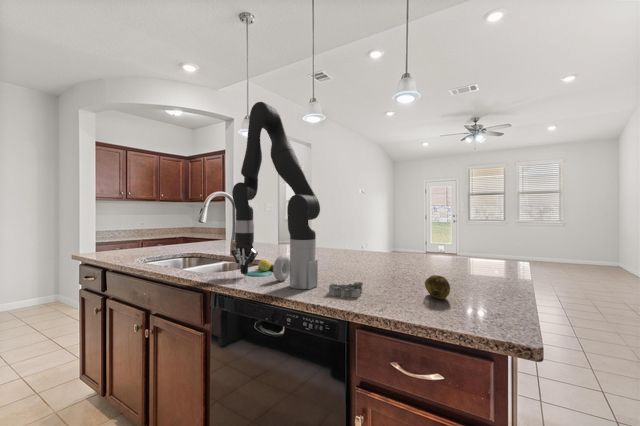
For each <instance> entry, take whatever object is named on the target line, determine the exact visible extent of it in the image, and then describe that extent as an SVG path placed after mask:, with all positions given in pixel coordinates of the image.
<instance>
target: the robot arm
mask: <svg viewBox="0 0 640 426" xmlns="http://www.w3.org/2000/svg"><path fill="white" fill-rule="evenodd" d="M262 129H264V130H265V132H267V135H268V136H269V138H270V142H271V146H270V157H271V161H272V162H271V163H272V164H273V166H274V169H275V171H276V173H277V174H278V175H279V177H280V178H281V179H282V180H283V181H284V182H285V183H286V184H287V185H288V186H289V187H290V188H291V190H292V191H293V193H294V195H292V196H291V197H290V198H289V200H288V203H287V210H286V211H287V213H286V216H287V230H288V233H289V241H290V242H289V260H290V274H289V287H290V288H292V289H295V290H311V289H314V288H316V287H318V274H319V273H318V272H319V271H318V265H319V264H318V259H316V245H317V243H316V239H317V237H316V235H317V233H316V231H315V230H313V229H312V228H311V227H310V224H309V221H312V220H316V219H317V218H318V217H319V215H320V213H321V204H320V201H319V199H318V197H317V195H316V194H315V192H314V190H313V189H312V187H311V185H310V184H309V182H308V180H307V177H306V176H305V173H304V171H303V169H302V167H301V164H300V162H299V160H298V157H297V155H296V153H295V150H294V148H293V146H292V144H291V142H290V139H289V138H288V136H287V134H286V131H285V128H284V125H283V121H282V117H281V114H280V112H279V110H277V109H276V108H275V107H273V106H272V105H269V104H267V103H265V102H263V101H258V102H255V103H254V104H253V105H252V107H251V109H250V113H249V118H248V130H247V139H246V149H245V154H244V158H243V161H242V167H241V169H240V173H241V175H242V176H243V177H244V179H243V182H242V181H241V182H237V183H235V185H233V188H232V192H231V193H232V200H233V205H234V209H235V223H234V244H235V248H234V249H233V250H231V251H230V254H231V255H232V256H233V258H234V260H235V262H236V263H237V264H239V265H240V270H239V271H240V274H241V275H245V274H247V272H249V265H250V264H253V262H254V260H255V259H256V258H257V256H258V254H259V252H258V251H255V250H254V245H253V243H254V242H255V241H254V240H255V239H254V237H255V236H254V234H255V228H254V227H255V225H254V209H253V207H252V206H250V203H249V201H252V200H254V199H255V198H256V196H257V193H258V186H259V174H260V173H259V172H260V169H261V166H262V162H263V151H262V146H261V133H262Z"/></svg>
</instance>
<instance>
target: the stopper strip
mask: <svg viewBox="0 0 640 426" xmlns="http://www.w3.org/2000/svg"><path fill="white" fill-rule="evenodd" d="M273 266H274V264H271V267H270V269H269V270H268V271H270V272H273ZM257 269H258V270H260V269H259V267H258V266H257Z"/></svg>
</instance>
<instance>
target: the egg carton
mask: <svg viewBox="0 0 640 426" xmlns="http://www.w3.org/2000/svg"><path fill="white" fill-rule="evenodd" d="M363 285H364V283H363V282H360V281H358V282H353V283H348V284H338V283H331V284H328V294H329V295H330V294H331V295H336V296H339V295H341V296H346V297H349V296H351V297H350V298H352V297H357V298H360V297H361V295H360V294H362V295H363ZM331 295H330V296H331Z"/></svg>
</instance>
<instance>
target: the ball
mask: <svg viewBox="0 0 640 426" xmlns="http://www.w3.org/2000/svg"><path fill="white" fill-rule="evenodd" d="M271 265H272V263H271V261H270V260H268V259H266V258H262V259H261V260H260V261H259V262H258V265H257V268H258V267H259V269H258V270H259V271H268V270H269V269H270V267H271Z"/></svg>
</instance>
